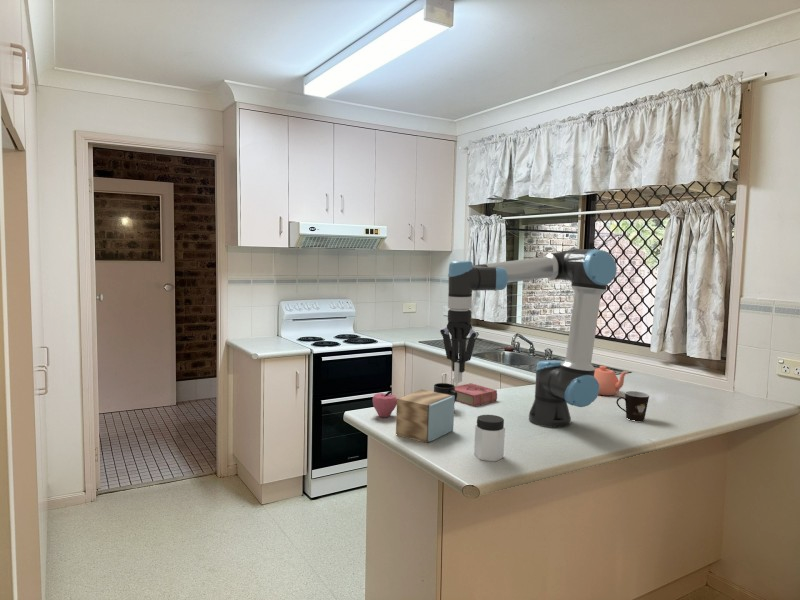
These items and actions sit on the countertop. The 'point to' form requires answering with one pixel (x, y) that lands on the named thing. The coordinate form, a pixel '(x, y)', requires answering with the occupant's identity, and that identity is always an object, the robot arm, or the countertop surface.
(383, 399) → the apple
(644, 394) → the coffee mug
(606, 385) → the teapot
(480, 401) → the book
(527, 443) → the countertop surface
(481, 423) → the jar
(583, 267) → the robot arm
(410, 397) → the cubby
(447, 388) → the mug
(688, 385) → the countertop surface
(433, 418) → the door
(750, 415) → the countertop surface
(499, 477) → the countertop surface
